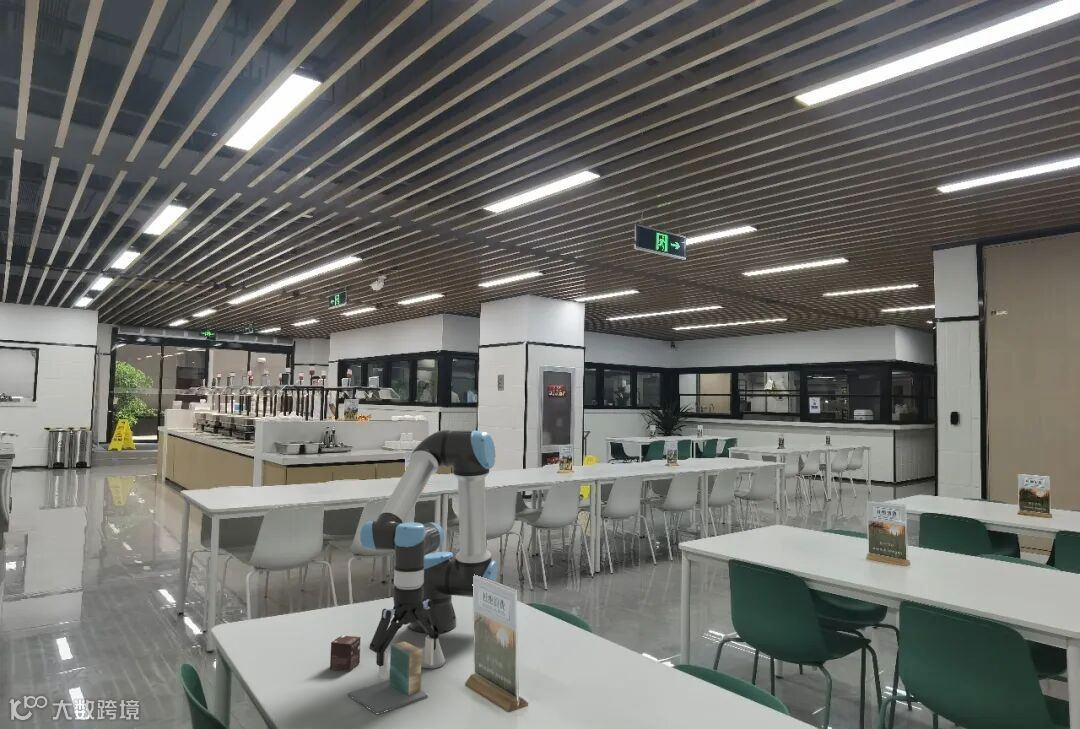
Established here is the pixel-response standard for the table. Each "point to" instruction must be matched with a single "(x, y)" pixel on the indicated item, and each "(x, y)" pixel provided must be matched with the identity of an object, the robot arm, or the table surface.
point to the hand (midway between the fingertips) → (406, 670)
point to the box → (345, 653)
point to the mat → (384, 697)
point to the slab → (405, 668)
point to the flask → (434, 657)
